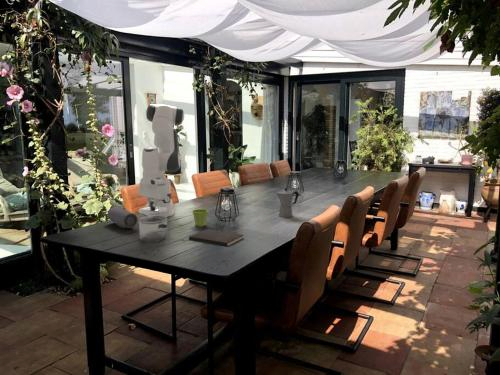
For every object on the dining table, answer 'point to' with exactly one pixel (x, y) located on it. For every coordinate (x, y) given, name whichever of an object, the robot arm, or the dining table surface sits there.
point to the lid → (152, 209)
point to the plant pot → (200, 217)
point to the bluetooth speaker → (122, 217)
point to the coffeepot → (286, 202)
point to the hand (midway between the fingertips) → (152, 206)
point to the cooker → (153, 228)
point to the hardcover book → (216, 237)
